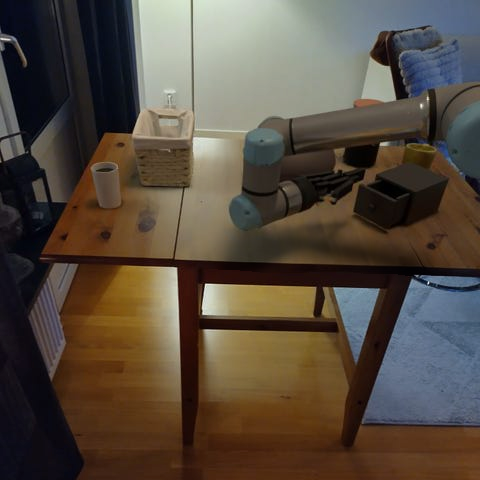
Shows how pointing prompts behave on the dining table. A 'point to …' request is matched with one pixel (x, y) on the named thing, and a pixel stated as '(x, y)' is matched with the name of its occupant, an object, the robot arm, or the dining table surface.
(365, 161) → the coffee jar
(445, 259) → the dining table surface
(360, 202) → the drawer
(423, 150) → the mug
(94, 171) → the white coffee cup
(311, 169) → the flattened ellipsoid
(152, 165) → the basket
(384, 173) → the cabinet
